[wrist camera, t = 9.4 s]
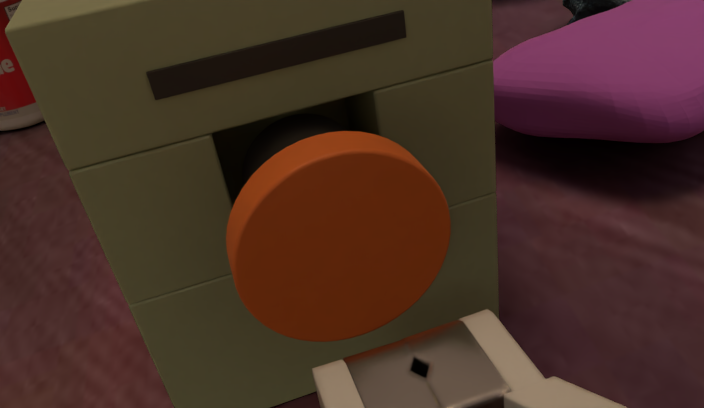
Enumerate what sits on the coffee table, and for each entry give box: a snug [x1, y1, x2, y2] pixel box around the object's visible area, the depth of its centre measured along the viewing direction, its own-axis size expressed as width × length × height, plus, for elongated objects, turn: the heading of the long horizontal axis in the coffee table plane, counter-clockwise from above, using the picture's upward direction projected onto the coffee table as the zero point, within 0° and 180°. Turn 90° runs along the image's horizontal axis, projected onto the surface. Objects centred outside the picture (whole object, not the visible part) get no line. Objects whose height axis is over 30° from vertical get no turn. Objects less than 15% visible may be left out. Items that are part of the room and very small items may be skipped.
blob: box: [493, 0, 704, 143], centre depth 28 cm, size 14×11×5 cm
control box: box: [5, 0, 499, 408], centre depth 18 cm, size 6×10×12 cm, turn 108°
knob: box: [226, 113, 451, 342], centre depth 14 cm, size 4×5×5 cm
